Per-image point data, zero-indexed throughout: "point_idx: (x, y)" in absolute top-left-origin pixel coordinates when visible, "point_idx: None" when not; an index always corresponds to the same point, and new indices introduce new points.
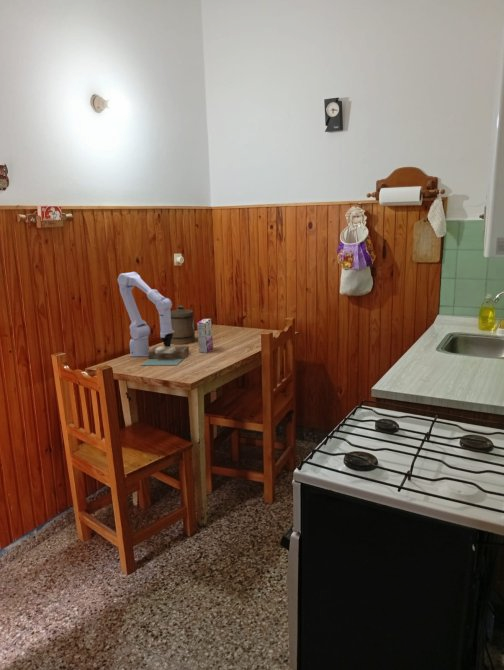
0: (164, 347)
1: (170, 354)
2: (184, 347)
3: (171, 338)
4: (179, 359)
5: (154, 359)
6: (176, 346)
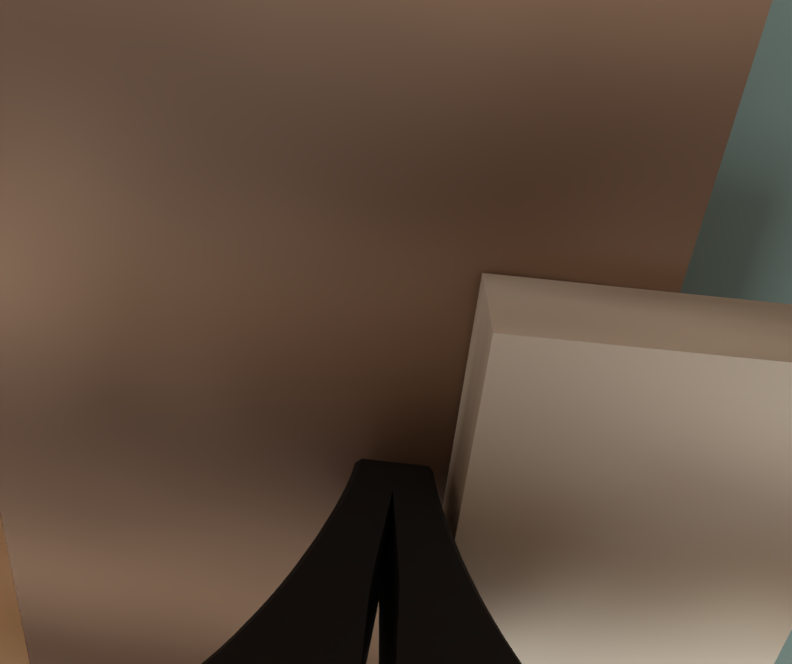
0: (569, 608)
1: None
2: (127, 20)
3: (260, 655)
4: (773, 71)
5: None
6: (6, 313)
